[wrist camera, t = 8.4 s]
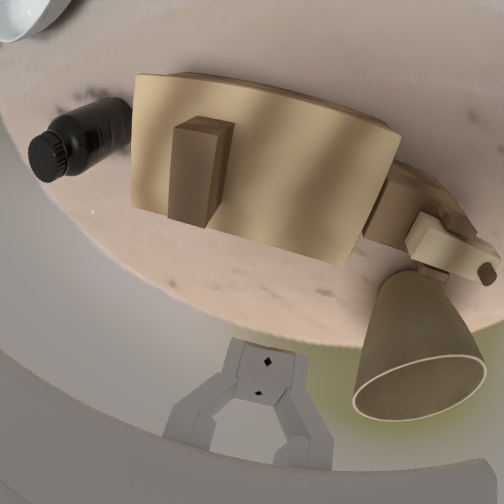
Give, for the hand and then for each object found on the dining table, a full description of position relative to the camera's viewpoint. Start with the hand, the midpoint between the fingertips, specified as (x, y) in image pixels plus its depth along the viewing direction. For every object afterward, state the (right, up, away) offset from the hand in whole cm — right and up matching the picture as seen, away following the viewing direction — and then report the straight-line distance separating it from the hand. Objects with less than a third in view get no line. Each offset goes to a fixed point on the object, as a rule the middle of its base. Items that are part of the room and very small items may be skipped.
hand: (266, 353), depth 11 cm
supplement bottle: (-17, +19, +19) cm, 32 cm away
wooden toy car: (+17, +5, +10) cm, 20 cm away
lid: (-1, +11, +13) cm, 17 cm away
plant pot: (+20, -1, +25) cm, 32 cm away
